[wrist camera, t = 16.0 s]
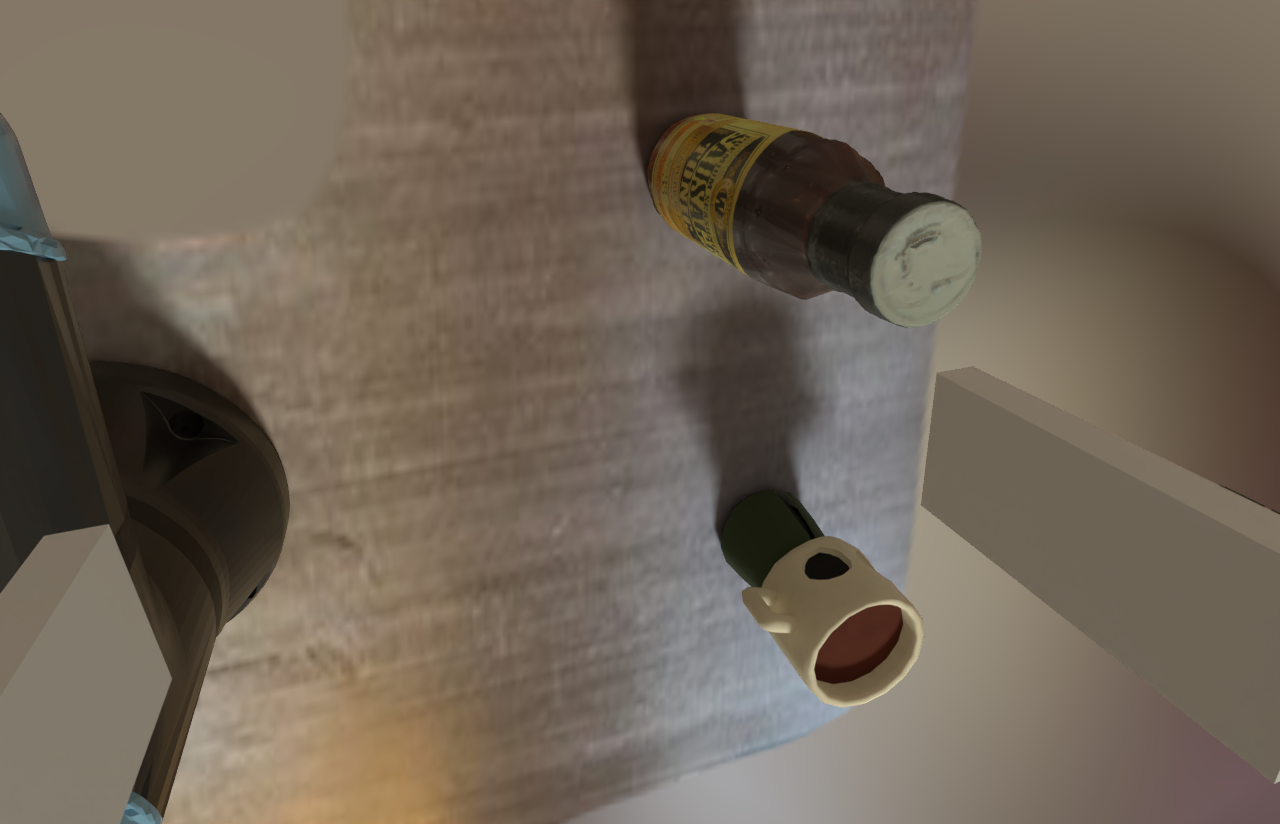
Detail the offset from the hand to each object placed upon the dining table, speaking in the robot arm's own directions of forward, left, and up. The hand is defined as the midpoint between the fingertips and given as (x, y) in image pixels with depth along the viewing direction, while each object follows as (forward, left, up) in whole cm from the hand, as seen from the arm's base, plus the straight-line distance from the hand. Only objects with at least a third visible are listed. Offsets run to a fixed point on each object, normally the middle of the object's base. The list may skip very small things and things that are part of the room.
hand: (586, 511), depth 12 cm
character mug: (+17, -22, -29) cm, 40 cm away
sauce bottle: (+13, +1, -29) cm, 32 cm away
